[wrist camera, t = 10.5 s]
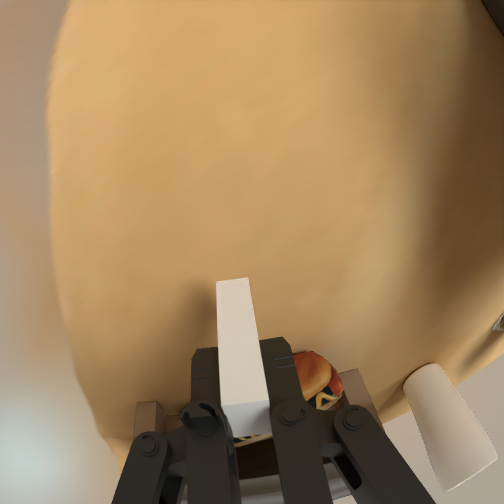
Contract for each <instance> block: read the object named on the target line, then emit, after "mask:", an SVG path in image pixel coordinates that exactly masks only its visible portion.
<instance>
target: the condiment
mask: <svg viewBox="0 0 504 504" xmlns="http://www.w3.org/2000/svg"><path fill="white" fill-rule="evenodd" d="M492 330H500V331H504V313H503V314H502V316H501V317H500V318H499V320H498V321H497V322H496V324H495V325H494V327H493V329H492Z"/></svg>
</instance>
